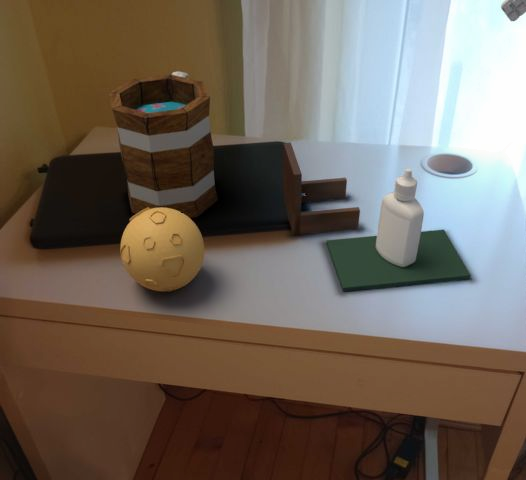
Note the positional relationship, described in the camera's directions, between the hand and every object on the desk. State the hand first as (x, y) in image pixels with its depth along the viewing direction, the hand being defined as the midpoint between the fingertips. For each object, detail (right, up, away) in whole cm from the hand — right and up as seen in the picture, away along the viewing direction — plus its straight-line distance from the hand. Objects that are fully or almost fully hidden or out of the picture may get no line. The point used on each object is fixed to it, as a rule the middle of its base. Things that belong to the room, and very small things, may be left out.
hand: (518, 30), depth 61 cm
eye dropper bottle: (-8, -19, +20) cm, 28 cm away
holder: (-16, -12, +28) cm, 34 cm away
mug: (-37, -6, +34) cm, 51 cm away
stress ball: (-36, -22, +18) cm, 46 cm away
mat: (-8, -19, +20) cm, 29 cm away
